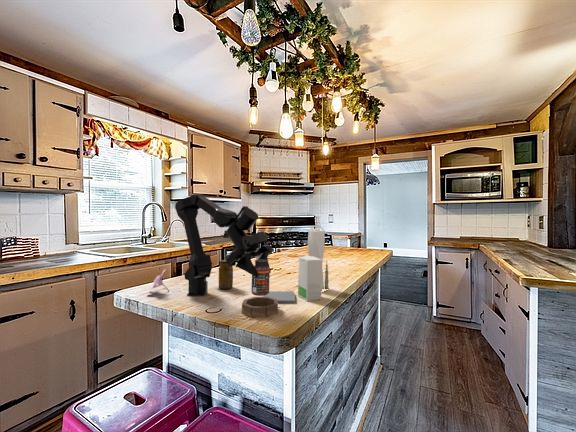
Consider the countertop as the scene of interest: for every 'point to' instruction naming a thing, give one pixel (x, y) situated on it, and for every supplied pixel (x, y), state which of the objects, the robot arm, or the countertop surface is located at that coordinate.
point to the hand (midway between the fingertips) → (263, 274)
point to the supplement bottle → (261, 278)
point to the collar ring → (260, 307)
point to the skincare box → (310, 278)
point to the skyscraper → (318, 249)
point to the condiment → (225, 277)
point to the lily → (158, 282)
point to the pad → (282, 296)
